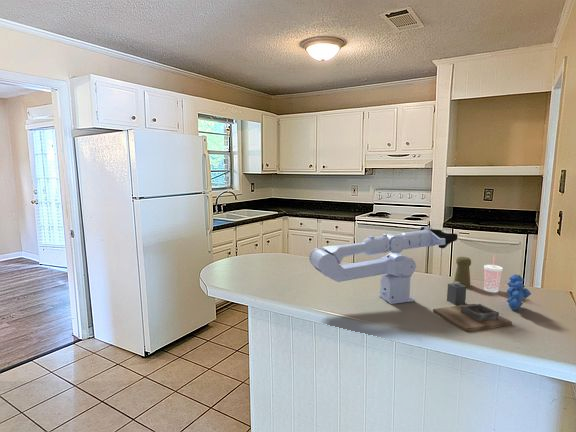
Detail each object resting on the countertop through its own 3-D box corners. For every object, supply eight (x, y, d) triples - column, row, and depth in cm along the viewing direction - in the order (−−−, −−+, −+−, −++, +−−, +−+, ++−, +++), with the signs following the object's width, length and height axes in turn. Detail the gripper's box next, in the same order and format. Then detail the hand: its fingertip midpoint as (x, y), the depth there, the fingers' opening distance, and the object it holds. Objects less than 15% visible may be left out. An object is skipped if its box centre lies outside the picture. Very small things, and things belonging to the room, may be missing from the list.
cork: (472, 288, 134) (474, 259, 133) (455, 286, 136) (457, 258, 134) (468, 282, 140) (470, 255, 139) (451, 281, 142) (453, 254, 140)
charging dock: (466, 331, 99) (467, 321, 99) (433, 312, 112) (433, 303, 112) (511, 324, 103) (512, 315, 103) (474, 306, 117) (475, 297, 116)
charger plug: (455, 305, 118) (456, 284, 117) (446, 300, 122) (448, 281, 121) (465, 303, 119) (466, 283, 118) (456, 299, 123) (457, 280, 122)
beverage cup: (494, 287, 135) (497, 251, 133) (504, 293, 129) (508, 255, 127) (478, 287, 135) (481, 251, 133) (488, 293, 129) (491, 255, 127)
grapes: (534, 319, 107) (538, 280, 106) (508, 315, 110) (511, 278, 108) (525, 305, 118) (528, 270, 116) (501, 302, 121) (504, 267, 119)
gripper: (428, 231, 115) (464, 227, 118) (402, 224, 128) (435, 220, 132) (429, 253, 116) (463, 247, 119) (403, 243, 130) (435, 239, 133)
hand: (448, 234), depth 126 cm, fingers open, 7 cm apart
